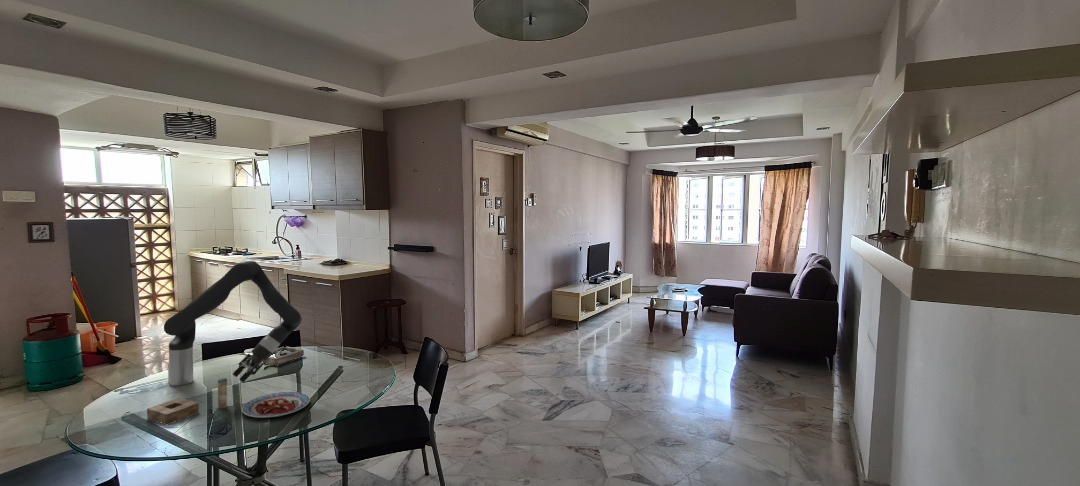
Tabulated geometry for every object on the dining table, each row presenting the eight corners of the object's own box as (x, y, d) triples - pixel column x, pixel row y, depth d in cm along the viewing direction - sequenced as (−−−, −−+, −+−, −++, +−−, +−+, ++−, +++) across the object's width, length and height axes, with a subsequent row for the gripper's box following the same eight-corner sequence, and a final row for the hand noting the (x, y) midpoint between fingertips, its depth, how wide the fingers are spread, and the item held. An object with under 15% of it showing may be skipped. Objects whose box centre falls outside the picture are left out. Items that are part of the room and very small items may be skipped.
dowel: (216, 407, 199) (216, 380, 198) (223, 404, 202) (223, 377, 201) (221, 408, 198) (221, 381, 197) (228, 405, 201) (228, 379, 200)
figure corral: (256, 362, 255) (256, 355, 255) (285, 352, 273) (285, 346, 272) (275, 366, 250) (275, 359, 250) (303, 356, 268) (303, 349, 267)
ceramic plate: (238, 426, 184) (238, 419, 184) (245, 401, 207) (245, 394, 206) (310, 415, 196) (310, 409, 196) (309, 393, 219) (309, 387, 218)
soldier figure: (270, 365, 254) (266, 353, 262) (276, 369, 257) (273, 357, 266) (281, 355, 255) (277, 343, 264) (288, 359, 259) (284, 347, 267)
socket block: (147, 418, 186) (147, 408, 186) (179, 407, 197) (179, 397, 197) (167, 424, 182) (167, 414, 182) (198, 412, 193) (198, 402, 193)
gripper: (253, 339, 214) (225, 369, 206) (265, 346, 205) (236, 378, 197) (266, 348, 218) (238, 378, 210) (278, 355, 209) (250, 387, 201)
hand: (237, 378), depth 203 cm, fingers open, 8 cm apart
